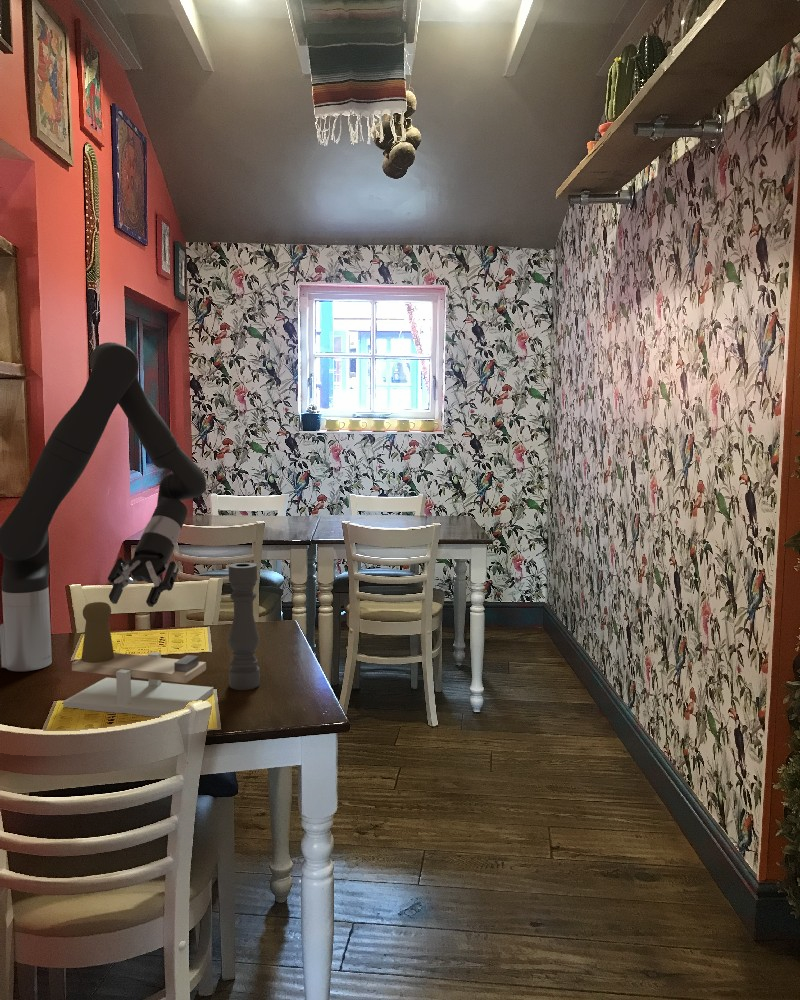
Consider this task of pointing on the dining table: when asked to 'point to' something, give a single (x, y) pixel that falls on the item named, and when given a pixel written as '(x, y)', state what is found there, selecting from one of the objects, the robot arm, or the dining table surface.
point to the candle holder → (243, 628)
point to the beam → (147, 667)
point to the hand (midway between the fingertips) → (130, 603)
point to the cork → (97, 633)
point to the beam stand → (137, 695)
